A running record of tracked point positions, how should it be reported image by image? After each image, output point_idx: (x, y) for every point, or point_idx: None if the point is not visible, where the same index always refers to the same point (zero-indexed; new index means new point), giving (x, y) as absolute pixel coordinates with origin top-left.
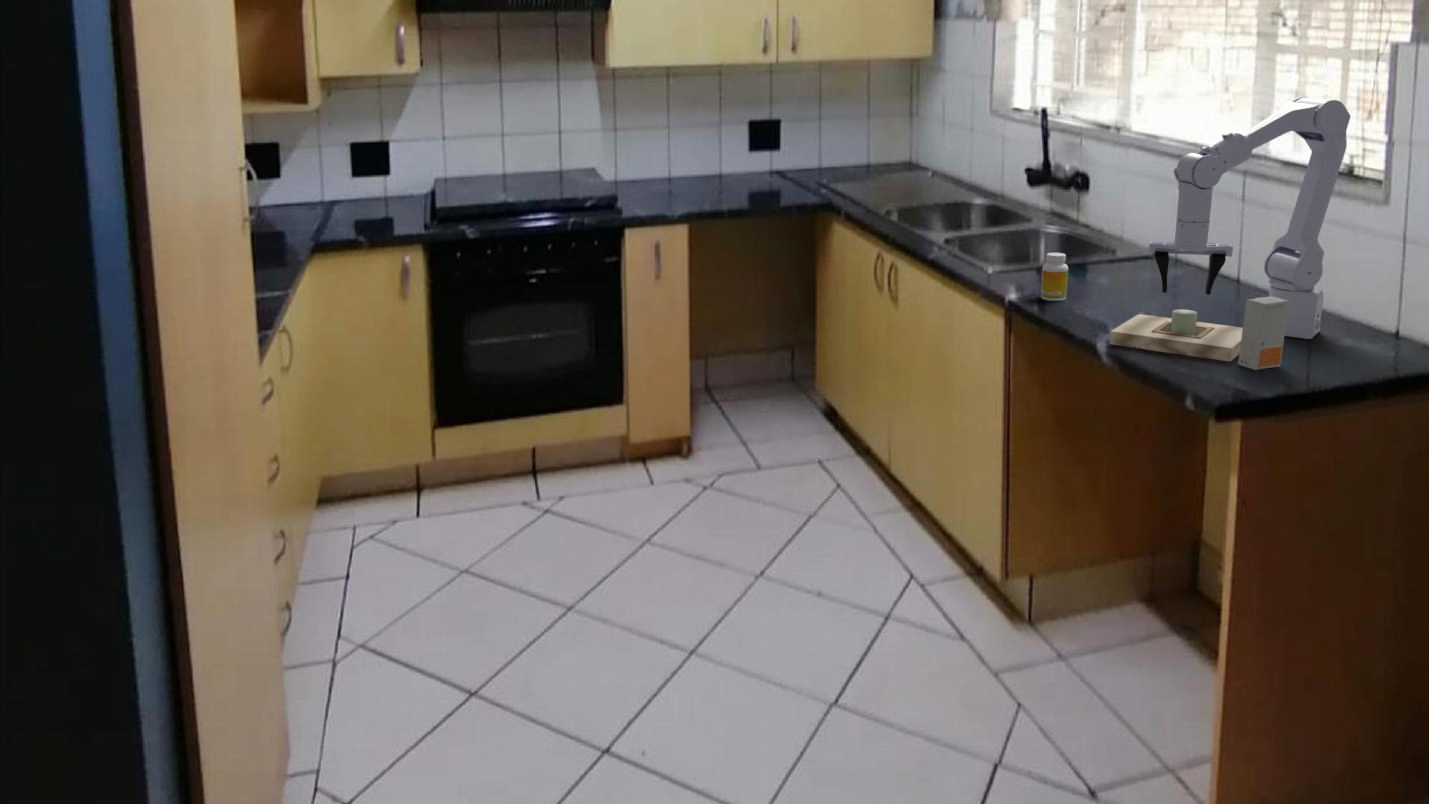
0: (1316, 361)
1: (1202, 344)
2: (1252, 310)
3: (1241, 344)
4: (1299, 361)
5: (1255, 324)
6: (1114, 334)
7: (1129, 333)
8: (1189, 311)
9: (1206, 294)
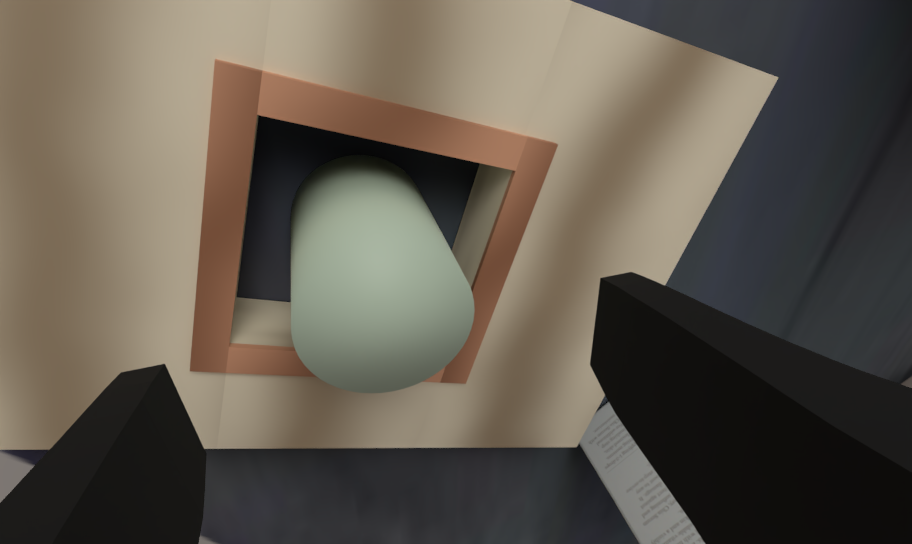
0: (831, 284)
1: (469, 446)
2: None
3: (612, 495)
4: (778, 306)
5: None
6: None
7: None
8: (420, 288)
9: (591, 365)
